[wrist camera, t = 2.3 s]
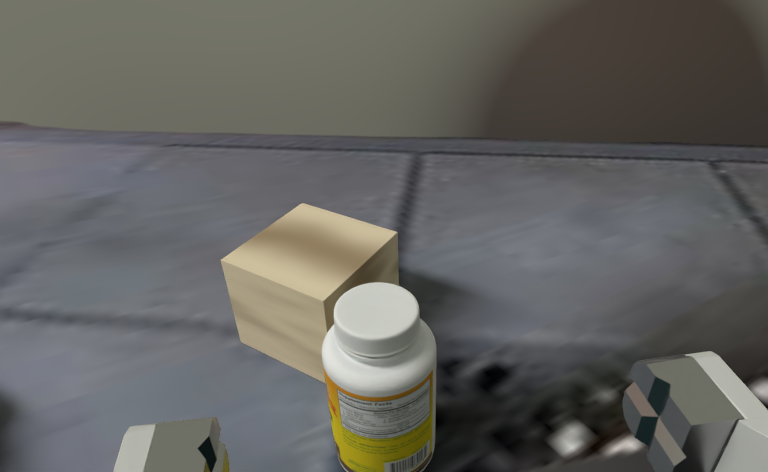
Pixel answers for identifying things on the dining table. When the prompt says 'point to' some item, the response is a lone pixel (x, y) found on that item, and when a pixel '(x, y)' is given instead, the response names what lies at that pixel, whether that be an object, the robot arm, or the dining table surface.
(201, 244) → the dining table surface
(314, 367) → the beech block
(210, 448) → the robot arm
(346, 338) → the supplement bottle
